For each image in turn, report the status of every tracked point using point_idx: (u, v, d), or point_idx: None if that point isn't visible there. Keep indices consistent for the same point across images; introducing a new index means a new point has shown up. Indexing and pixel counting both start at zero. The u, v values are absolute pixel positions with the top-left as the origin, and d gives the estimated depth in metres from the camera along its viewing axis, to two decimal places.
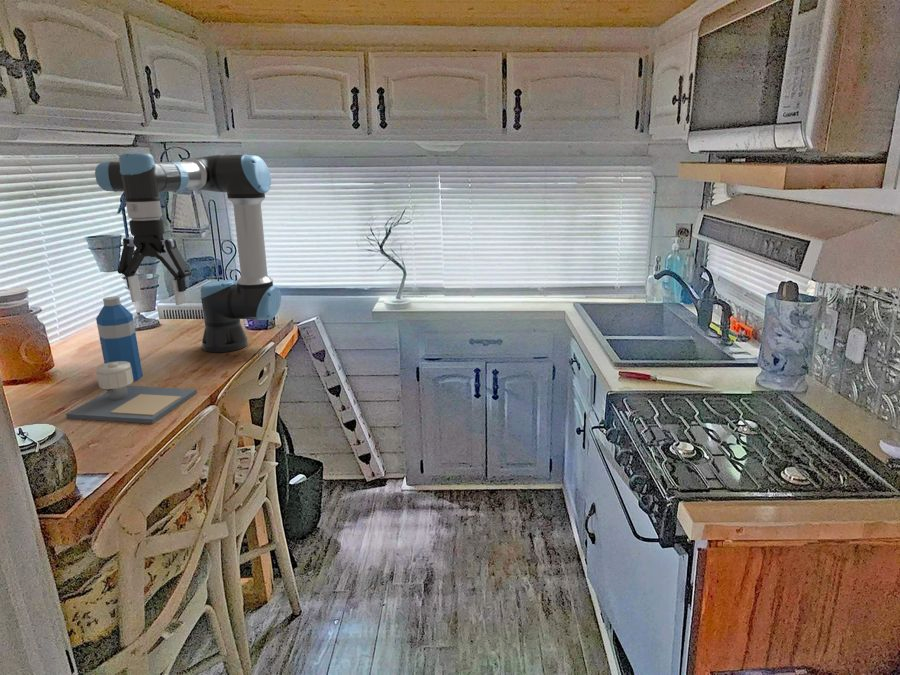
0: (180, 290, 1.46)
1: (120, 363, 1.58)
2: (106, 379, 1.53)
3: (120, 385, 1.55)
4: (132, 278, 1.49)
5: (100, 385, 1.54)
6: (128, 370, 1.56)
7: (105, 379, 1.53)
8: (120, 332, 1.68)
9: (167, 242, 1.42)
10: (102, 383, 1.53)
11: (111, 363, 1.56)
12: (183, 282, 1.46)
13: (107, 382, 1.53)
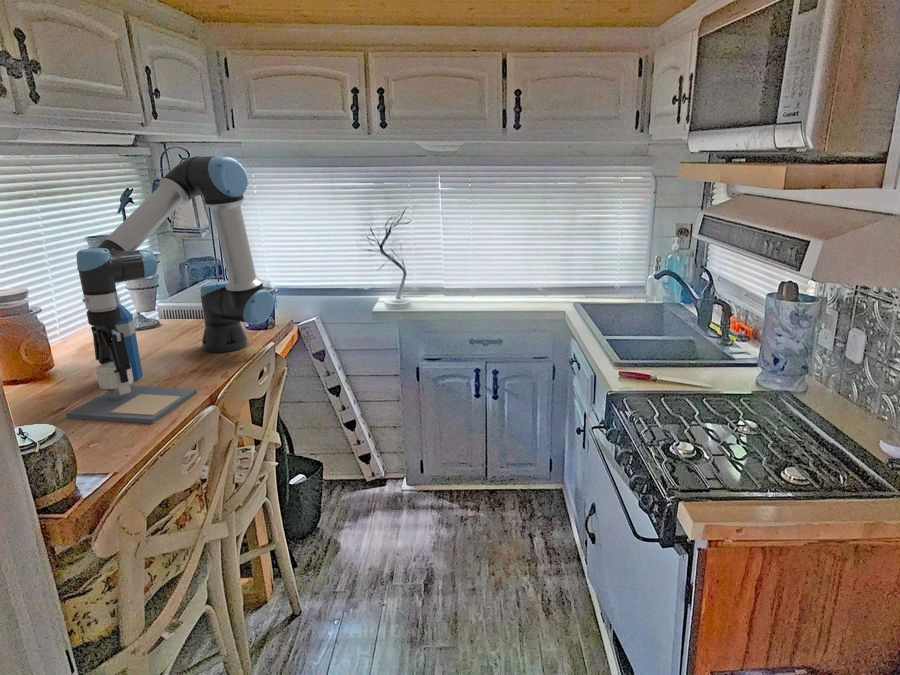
0: (121, 381, 1.53)
1: None
2: (106, 379, 1.53)
3: None
4: None
5: (100, 385, 1.54)
6: (128, 370, 1.56)
7: (105, 379, 1.53)
8: (120, 332, 1.68)
9: (113, 337, 1.49)
10: (102, 383, 1.53)
11: (111, 363, 1.56)
12: (124, 374, 1.53)
13: (107, 382, 1.53)
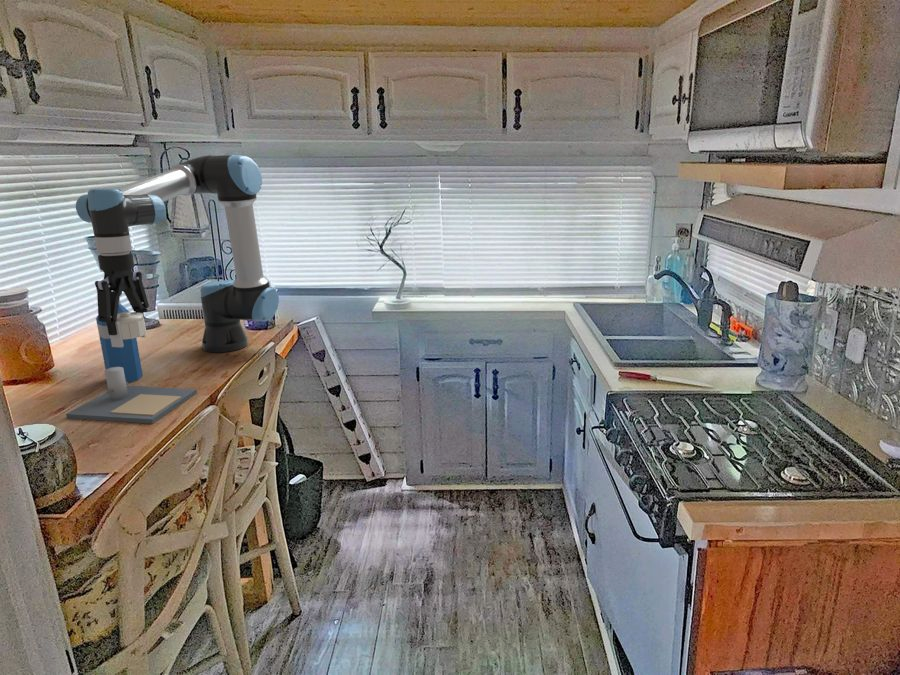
0: None
1: (133, 316, 1.47)
2: None
3: None
4: None
5: None
6: (125, 324, 1.44)
7: None
8: None
9: None
10: None
11: (124, 312, 1.47)
12: (110, 326, 1.42)
13: None
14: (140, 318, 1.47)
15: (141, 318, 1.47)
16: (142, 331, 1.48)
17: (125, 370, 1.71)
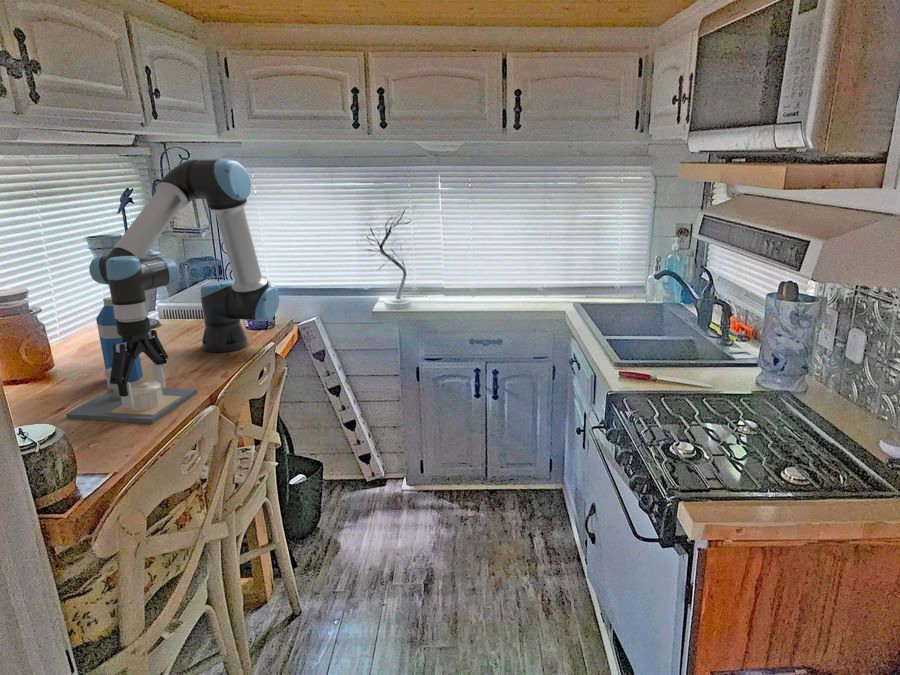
0: None
1: (151, 386, 1.52)
2: None
3: (133, 408, 1.50)
4: (154, 366, 1.57)
5: None
6: (144, 395, 1.49)
7: None
8: None
9: None
10: None
11: (142, 383, 1.52)
12: (121, 388, 1.43)
13: None
14: (158, 388, 1.52)
15: (159, 388, 1.52)
16: (160, 400, 1.53)
17: None
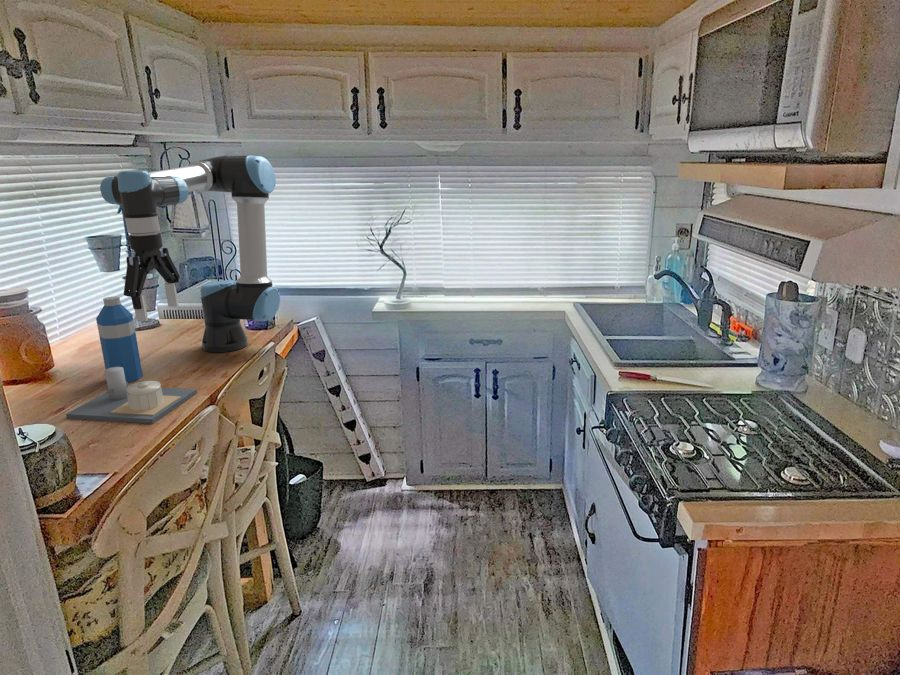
0: None
1: (151, 386, 1.52)
2: (127, 397, 1.51)
3: (133, 408, 1.50)
4: (166, 285, 1.59)
5: None
6: (144, 395, 1.49)
7: None
8: (121, 332, 1.68)
9: None
10: None
11: (142, 383, 1.52)
12: (135, 300, 1.45)
13: (128, 400, 1.51)
14: (158, 388, 1.52)
15: (159, 388, 1.52)
16: (160, 400, 1.53)
17: (125, 370, 1.71)
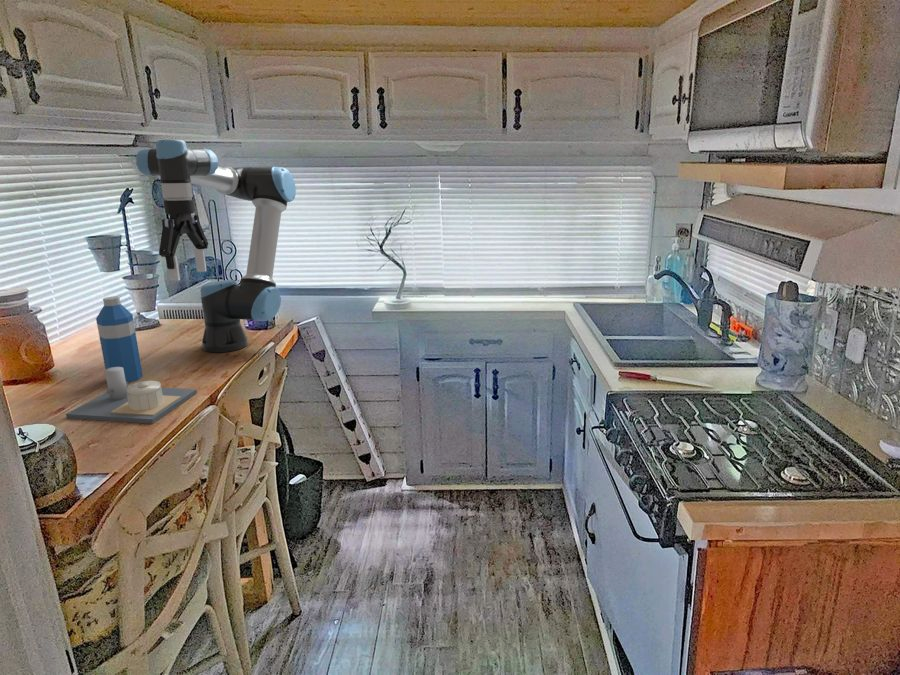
0: None
1: (151, 386, 1.52)
2: (127, 397, 1.51)
3: (133, 408, 1.50)
4: (196, 250, 1.69)
5: None
6: (144, 395, 1.49)
7: None
8: (120, 332, 1.68)
9: None
10: None
11: (142, 383, 1.52)
12: (168, 260, 1.55)
13: (128, 400, 1.51)
14: (158, 388, 1.52)
15: (159, 388, 1.52)
16: (160, 400, 1.53)
17: (125, 370, 1.71)
